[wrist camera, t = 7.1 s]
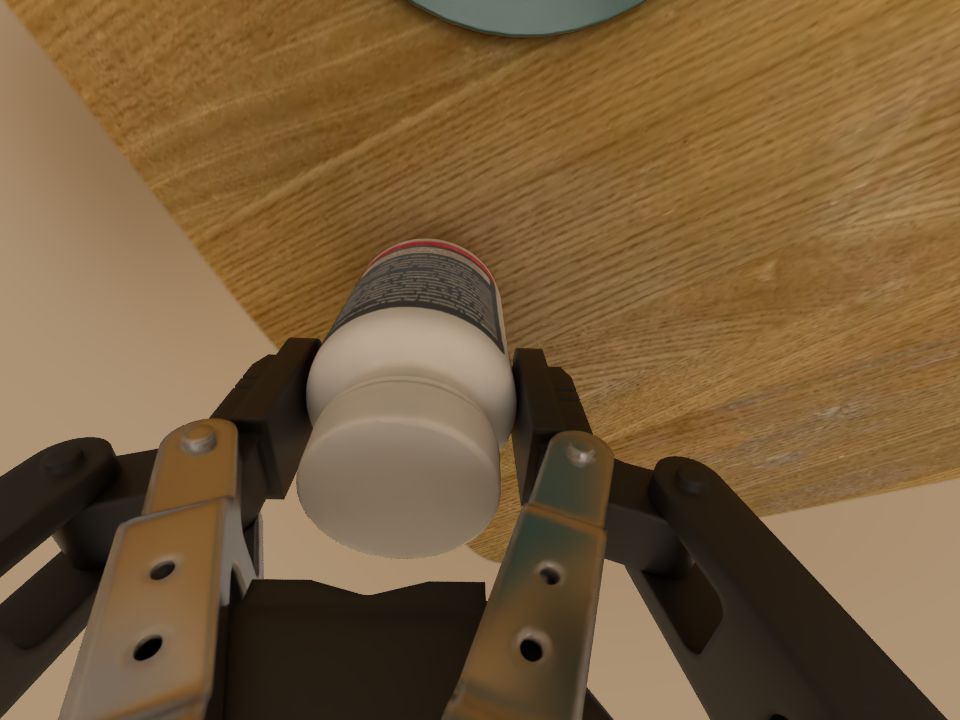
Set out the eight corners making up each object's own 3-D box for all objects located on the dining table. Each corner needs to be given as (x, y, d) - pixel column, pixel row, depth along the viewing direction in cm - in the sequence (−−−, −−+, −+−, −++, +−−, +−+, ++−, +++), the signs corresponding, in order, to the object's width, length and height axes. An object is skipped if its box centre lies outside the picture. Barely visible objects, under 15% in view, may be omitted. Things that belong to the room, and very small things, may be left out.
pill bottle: (333, 257, 15) (196, 422, 7) (480, 217, 14) (496, 349, 7) (389, 381, 18) (330, 595, 10) (514, 351, 17) (554, 553, 9)
